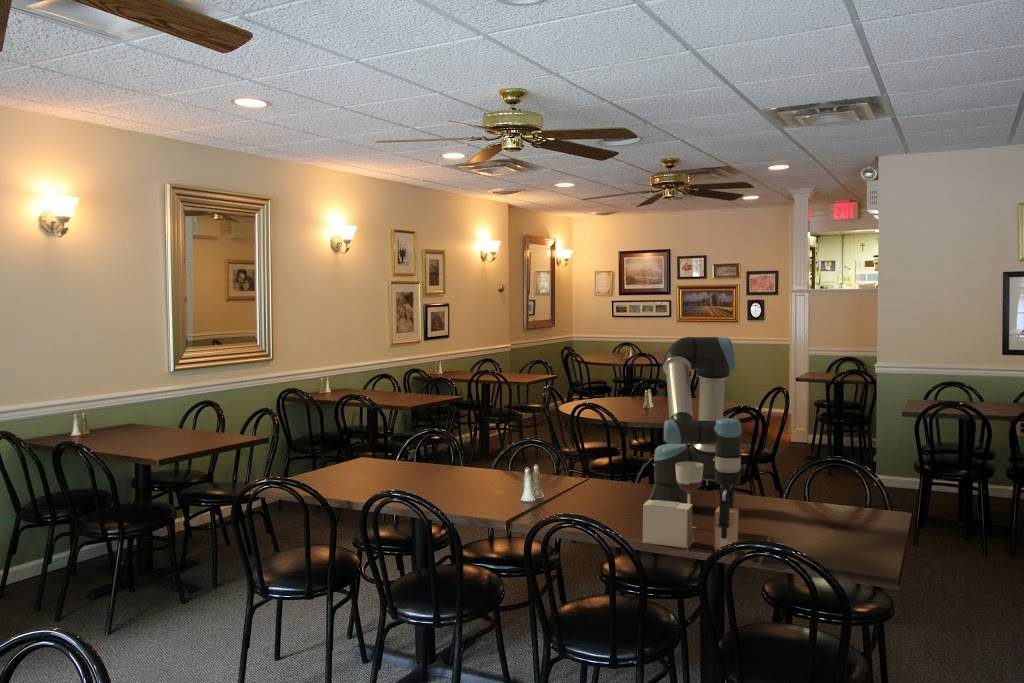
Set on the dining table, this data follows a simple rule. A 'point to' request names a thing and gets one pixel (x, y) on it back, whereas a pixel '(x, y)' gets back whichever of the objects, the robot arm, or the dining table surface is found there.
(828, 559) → the dining table surface
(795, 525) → the dining table surface
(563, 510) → the dining table surface
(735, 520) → the stub
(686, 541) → the beige rectangular block
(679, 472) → the wineglass
